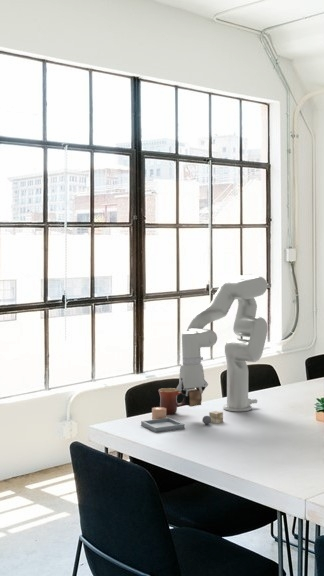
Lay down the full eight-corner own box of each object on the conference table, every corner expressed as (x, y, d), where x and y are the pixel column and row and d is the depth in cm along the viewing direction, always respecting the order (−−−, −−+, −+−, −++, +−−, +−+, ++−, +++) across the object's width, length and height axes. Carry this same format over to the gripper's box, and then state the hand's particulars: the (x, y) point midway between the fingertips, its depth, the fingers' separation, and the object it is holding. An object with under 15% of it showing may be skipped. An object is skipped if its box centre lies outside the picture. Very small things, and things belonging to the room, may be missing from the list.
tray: (169, 421, 298) (169, 417, 298) (184, 428, 287) (184, 424, 287) (141, 425, 292) (141, 420, 292) (155, 432, 281) (155, 427, 281)
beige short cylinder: (162, 418, 305) (162, 406, 305) (168, 421, 300) (168, 409, 300) (149, 419, 303) (149, 408, 302) (156, 422, 297) (156, 410, 297)
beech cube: (216, 420, 302) (216, 410, 301) (223, 421, 299) (223, 412, 299) (209, 421, 299) (209, 412, 299) (216, 423, 296) (216, 413, 296)
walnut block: (195, 402, 305) (194, 388, 305) (201, 404, 301) (200, 390, 300) (184, 404, 303) (184, 390, 302) (190, 406, 299) (190, 392, 298)
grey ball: (208, 423, 296) (208, 414, 296) (212, 424, 293) (212, 416, 293) (200, 423, 295) (200, 415, 294) (205, 425, 291) (205, 417, 291)
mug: (157, 415, 311) (157, 391, 310) (159, 410, 319) (159, 387, 319) (185, 415, 309) (185, 392, 309) (186, 411, 318) (186, 388, 318)
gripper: (204, 357, 308) (205, 399, 309) (169, 361, 300) (170, 404, 301) (213, 359, 301) (214, 402, 302) (178, 364, 293) (179, 408, 295)
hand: (192, 403), depth 302 cm, fingers closed on walnut block, 5 cm apart
